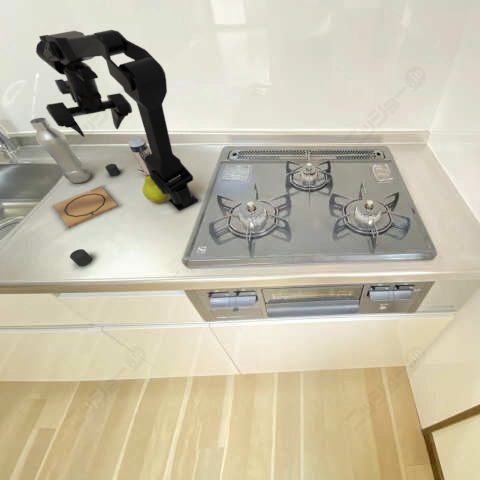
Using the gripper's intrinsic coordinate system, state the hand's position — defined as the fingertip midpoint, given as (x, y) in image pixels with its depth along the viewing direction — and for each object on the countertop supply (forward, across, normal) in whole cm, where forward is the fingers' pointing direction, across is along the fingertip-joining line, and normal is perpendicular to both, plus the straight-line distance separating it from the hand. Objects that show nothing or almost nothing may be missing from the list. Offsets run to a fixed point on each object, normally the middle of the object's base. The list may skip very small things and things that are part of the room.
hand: (100, 131), depth 85 cm
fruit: (+4, -3, +27) cm, 28 cm away
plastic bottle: (+16, +10, +2) cm, 19 cm away
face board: (+10, +14, +16) cm, 23 cm away
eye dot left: (+2, +22, +37) cm, 43 cm away
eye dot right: (+14, +1, +5) cm, 15 cm away
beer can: (+10, -8, +12) cm, 17 cm away
